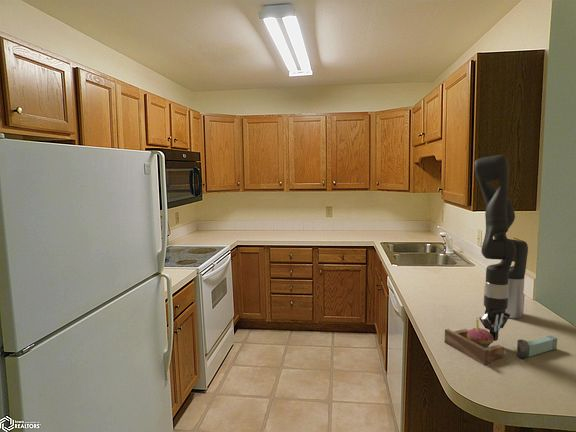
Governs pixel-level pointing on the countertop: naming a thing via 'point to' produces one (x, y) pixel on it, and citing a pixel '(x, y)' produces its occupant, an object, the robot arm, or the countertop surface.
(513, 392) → the countertop surface
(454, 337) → the wooden u-shaped bracket
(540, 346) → the bar
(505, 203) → the robot arm
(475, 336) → the cupcake
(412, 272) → the countertop surface
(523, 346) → the post
